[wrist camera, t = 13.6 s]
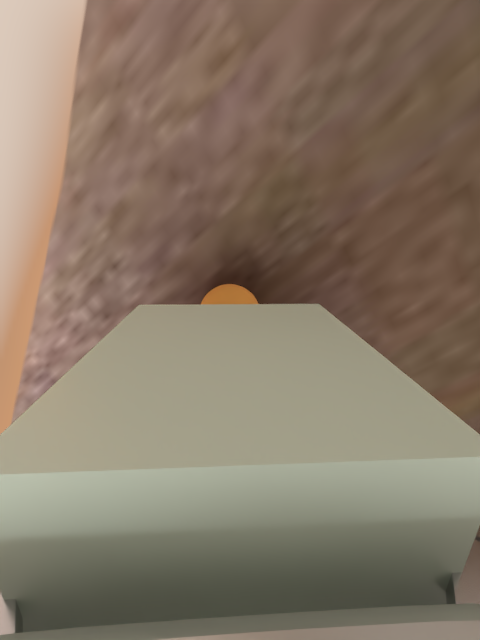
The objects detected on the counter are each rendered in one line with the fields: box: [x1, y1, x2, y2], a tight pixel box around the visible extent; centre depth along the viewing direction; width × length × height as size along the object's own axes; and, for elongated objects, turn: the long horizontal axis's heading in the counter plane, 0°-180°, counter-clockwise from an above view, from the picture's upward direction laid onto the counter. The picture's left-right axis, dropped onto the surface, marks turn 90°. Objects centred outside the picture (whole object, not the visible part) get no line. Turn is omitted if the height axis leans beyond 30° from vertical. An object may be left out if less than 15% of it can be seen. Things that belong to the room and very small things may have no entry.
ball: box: [201, 284, 258, 304], centre depth 23 cm, size 5×5×5 cm
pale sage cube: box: [0, 304, 480, 633], centre depth 9 cm, size 8×8×9 cm
